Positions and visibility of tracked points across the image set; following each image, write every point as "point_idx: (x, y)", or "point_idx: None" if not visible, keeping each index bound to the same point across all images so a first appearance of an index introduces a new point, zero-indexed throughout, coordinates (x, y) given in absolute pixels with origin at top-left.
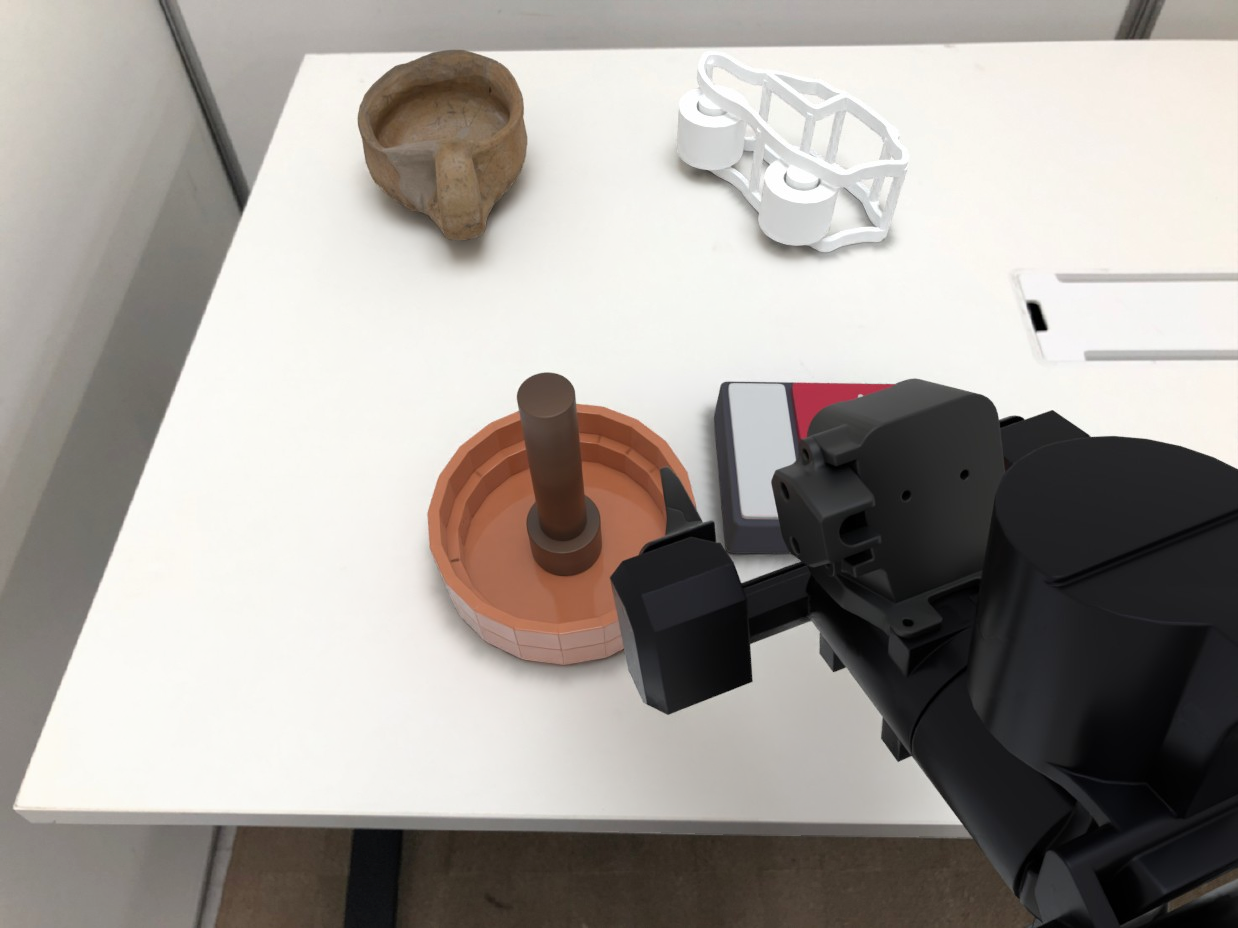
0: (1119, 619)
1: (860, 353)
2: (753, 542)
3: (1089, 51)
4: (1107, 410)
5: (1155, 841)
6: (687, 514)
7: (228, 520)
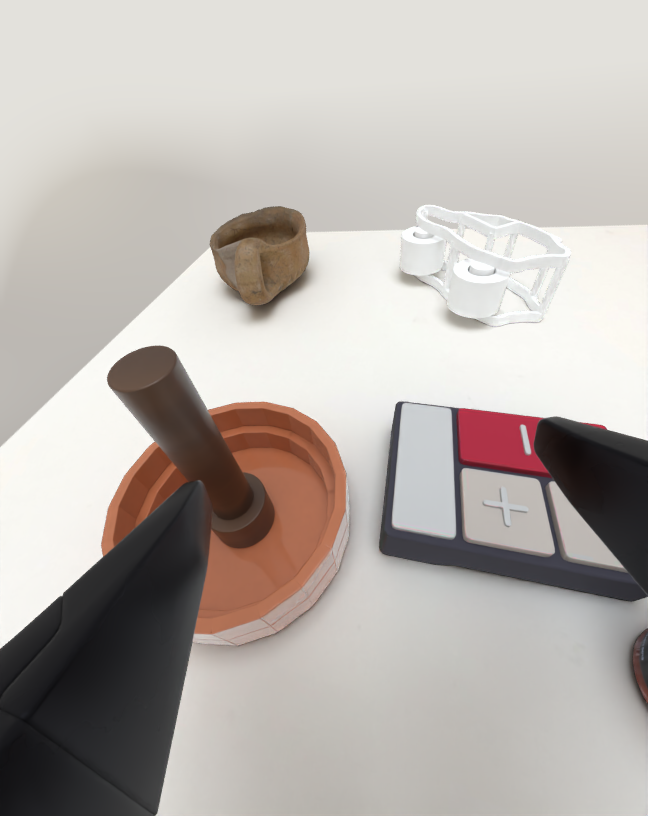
0: None
1: (519, 395)
2: (403, 550)
3: None
4: None
5: None
6: (42, 656)
7: (45, 457)
